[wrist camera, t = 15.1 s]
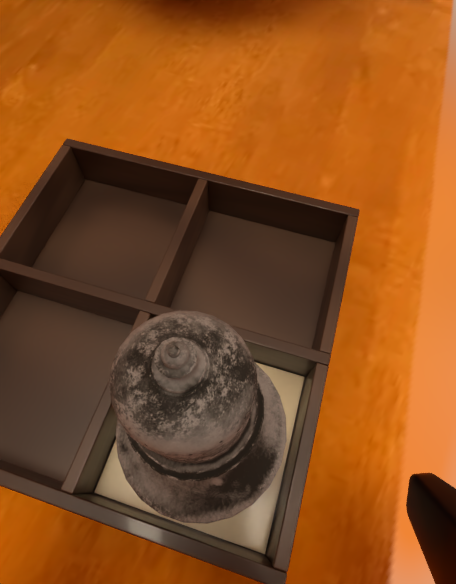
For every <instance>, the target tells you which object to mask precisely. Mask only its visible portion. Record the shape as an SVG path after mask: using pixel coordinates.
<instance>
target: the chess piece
mask: <svg viewBox="0 0 456 584" xmlns="http://www.w3.org/2000/svg"><path fill="white" fill-rule="evenodd" d="M109 385H110V394H111V403H112V406H113V408H114V411H115V413H116V416H117V418H118V421H117V427H116V444H117V454H118V459H119V462H120V465H121V467H122V470H123V473H124V475H125V478H126V480H127V482H128V483H129V484H130V486H131V487H132V488H133V490H134V491H135V493H136V494H137V495H138V497H139V498H140V499H141V500H142V501H143V502H145V503H146V504H147V505H149V506H150V507H151V508H152V509H154V510H155V511H156V512H158V513H159V514H161V515H164V516H166V517H169V518H172V519H175V520H177V521H180V522H183V523H205V524H208V523H212V522H216V521H220V520H223V519H227V518H231V517H233V516H235V515H236V514H238V513H240V512H241V511H243V510H244V509H246V508H248V507H249V506H251V505H253V504H254V503H255V502H256V500H257V499H258V498H259V497H260V496H261V495H262V494H263V493H264V492H265V491H266V490H267V489H268V488H269V486H270V485H271V483H272V481H273V479H274V477H275V475H276V473H277V471H278V469H279V468H280V466H281V463H282V459H283V454H284V450H285V446H286V441H287V436H286V415H285V412H284V408H283V405H282V401H281V398H280V395H279V393H278V391H277V390H276V388H275V386H274V384H273V383H272V381H271V379H270V377H269V376H268V375H267V374H266V373H265V372H264V371H263V370H262V369H261V368H260V367H259V366H258V365H257V364H256V363H255V362H254V359H253V356H252V354H251V352H250V350H249V349H248V347H247V345H246V344H245V342H244V340H243V339H242V337H241V336H240V335H239V334H238V333H237V332H236V331H235V330H234V329H233V328H232V327H231V326H230V325H229V324H227V323H225V322H223V321H222V320H220V319H218V318H216V317H215V316H212V315H208V314H205V313H202V312H198V311H180V310H179V311H174V312H169V313H164V314H161V315H158V316H156V317H154V318H152V319H149V320H147V321H145V322H144V323H143V324H141V325H140V326H139V327H137V328H136V329H135V330H134V331H132V332H131V333H130V334H129V336H128V337H127V338H126V339H125V341H124V342H123V343H122V344H121V346H120V347H119V349H118V352H117V354H116V356H115V358H114V360H113V363H112V367H111V373H110V379H109Z"/></svg>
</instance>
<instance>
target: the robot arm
mask: <svg viewBox="0 0 456 584" xmlns="http://www.w3.org/2000/svg"><path fill="white" fill-rule="evenodd" d="M406 506H407V513H408V517H409V519H410V521H411V524H412V526H413V529H414V531H415V534H416V537H417V539H418V542H419V544H420V546H421V549H422V551H423V554H424V556H425V559H426V561H427V564H428V566H429V569H430V571H431V574H432V576H433V579H434V581H435V584H456V489H455V488H454V487H452V486H451V485H449V484H448V483H446V482H445V481H443V480H442V479H440V478H439V477H437V476H436V475H434V474H432V473H420V474H413V475H412V476H411V477H410V480H409V488H408V496H407V504H406Z"/></svg>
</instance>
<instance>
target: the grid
mask: <svg viewBox="0 0 456 584" xmlns="http://www.w3.org/2000/svg"><path fill="white" fill-rule="evenodd" d="M358 216H359V209H355V208H351V207H347V206H343V205H339V204H334V203H330V202H326V201H322V200H318V199H314V198H310V197H306V196H302V195H297V194H293V193H289V192H285V191H281V190H277V189H273V188H269V187H264V186H260V185H256V184H252V183H248V182H244V181H240V180H236V179H232V178H227V177H223V176H219V175H215V174H211V173H207V172H203V171H199V170H194V169H190V168H186V167H182V166H178V165H174V164H170V163H166V162H162V161H157V160H153V159H149V158H145V157H141V156H137V155H133V154H129V153H124V152H120V151H116V150H112V149H108V148H104V147H100V146H96V145H92V144H87V143H83V142H79V141H75V140H71V139H66V141H65V142H64V143H63V145H62V146H61V148H60V149H59V151H58V152H57V154H56V155H55V157H54V158H53V160H52V161H51V163H50V164H49V166H48V167H47V169H46V170H45V171H44V173H43V174H42V176H41V177H40V179H39V180H38V182H37V183H36V185H35V186H34V188H33V189H32V191H31V192H30V194H29V195H28V197H27V198H26V199H25V201H24V202H23V204H22V205H21V207H20V208H19V210H18V211H17V213H16V214H15V216H14V217H13V219H12V220H11V222H10V223H9V225H8V226H7V227H6V229H5V230H4V232H3V233H2V235H1V236H0V486H3V487H5V488H8V489H11V490H13V491H16V492H19V493H21V494H24V495H27V496H29V497H32V498H35V499H38V500H40V501H43V502H46V503H48V504H51V505H54V506H56V507H59V508H62V509H64V510H67V511H70V512H73V513H75V514H78V515H81V516H83V517H86V518H89V519H91V520H94V521H97V522H99V523H102V524H105V525H108V526H110V527H113V528H116V529H118V530H121V531H124V532H126V533H129V534H132V535H134V536H137V537H140V538H143V539H145V540H148V541H151V542H153V543H156V544H159V545H161V546H164V547H167V548H169V549H172V550H175V551H177V552H180V553H183V554H186V555H188V556H191V557H194V558H196V559H199V560H202V561H204V562H207V563H210V564H212V565H215V566H218V567H221V568H223V569H226V570H229V571H231V572H234V573H237V574H239V575H242V576H245V577H247V578H250V579H253V580H256V581H258V582H261V583H264V584H285V582H286V577H287V573H286V572H287V571H288V567H289V562H290V557H291V552H292V547H293V542H294V537H295V532H296V527H297V522H298V517H299V512H300V507H301V502H302V497H303V492H304V487H305V482H306V477H307V472H308V467H309V462H310V457H311V452H312V447H313V442H314V437H315V432H316V427H317V422H318V417H319V411H320V406H321V401H322V396H323V391H324V386H325V381H326V376H327V371H328V365H329V362H330V357H331V355H330V354H331V351H332V346H333V341H334V336H335V331H336V326H337V321H338V316H339V311H340V306H341V301H342V296H343V291H344V286H345V281H346V276H347V271H348V266H349V261H350V256H351V251H352V246H353V241H354V236H355V231H356V226H357V221H358ZM179 310H180V311H198V312H202V313H205V314H208V315H212V316H215V317H216V318H218V319H220V320H222V321H223V322H225V323H227V324H229V325H230V326H231V327H232V328H233V329H234V330H235V331H236V332H237V333H238V334H239V335H240V336H241V337H242V339H243V340H244V342H245V344H246V345H247V347H248V349H249V350H250V352H251V354H252V356H253V359H254V362H255V363H256V364H257V365H258V366H259V367H260V368H261V369H262V370H263V371H264V372H265V373H266V374H267V375H268V376H269V377H270V379H271V381H272V383H273V384H274V386H275V388H276V390H277V391H278V393H279V395H280V398H281V401H282V405H283V408H284V412H285V415H286V436H287V441H286V446H285V450H284V454H283V459H282V463H281V466H280V468H279V469H278V471H277V473H276V475H275V477H274V479H273V481H272V483H271V485H270V486H269V488H268V489H267V490H266V491H265V492H264V493H263V494H262V495H261V496H260V497H259V498H258V499H257V500H256V502H255V503H254V504H253V505H251V506H249V507H248V508H246V509H244V510H243V511H241V512H240V513H238V514H236V515H235V516H233V517H231V518H227V519H223V520H220V521H216V522H212V523H208V524H205V523H183V522H180V521H177V520H175V519H172V518H169V517H166V516H164V515H161V514H159V513H158V512H156V511H155V510H154V509H152V508H151V507H150V506H149V505H147V504H146V503H145V502H143V501H142V500H141V499H140V498H139V497H138V495H137V494H136V493H135V491H134V490H133V488H132V487H131V486H130V484H129V483H128V482H127V480H126V478H125V475H124V473H123V470H122V467H121V465H120V462H119V459H118V454H117V444H116V427H117V421H118V418H117V416H116V413H115V411H114V408H113V406H112V403H111V394H110V385H109V379H110V373H111V367H112V363H113V360H114V358H115V356H116V354H117V352H118V349H119V347H120V346H121V344H122V343H123V342H124V341H125V339H126V338H127V337H128V336H129V334H130V333H131V332H132V331H134V330H135V329H136V328H137V327H139V326H140V325H141V324H143V323H144V322H145V321H147V320H149V319H152V318H154V317H156V316H158V315H161V314H164V313H169V312H174V311H179Z"/></svg>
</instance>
